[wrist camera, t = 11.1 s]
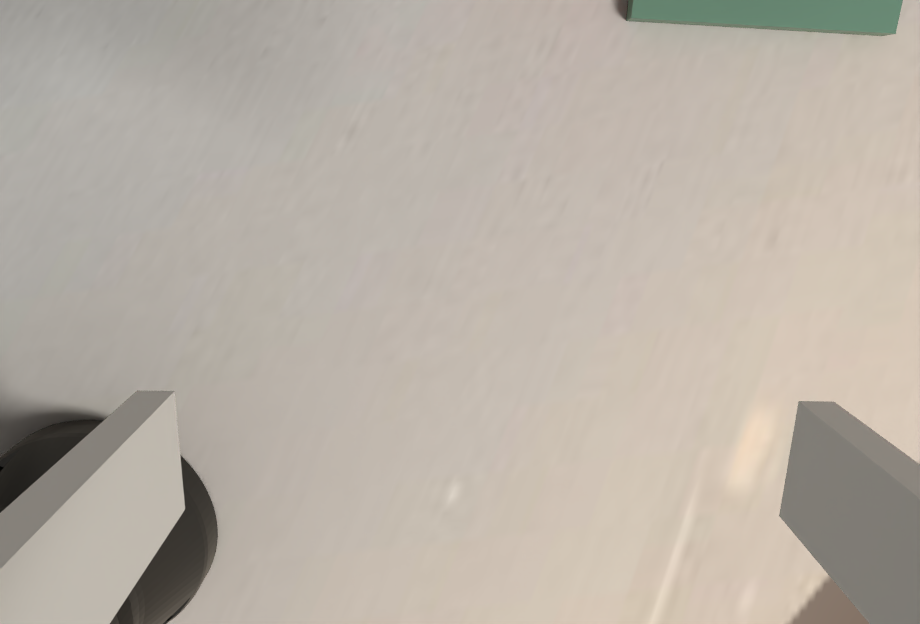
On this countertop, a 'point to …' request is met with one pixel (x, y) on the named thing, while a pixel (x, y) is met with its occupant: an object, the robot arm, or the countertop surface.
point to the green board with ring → (775, 14)
